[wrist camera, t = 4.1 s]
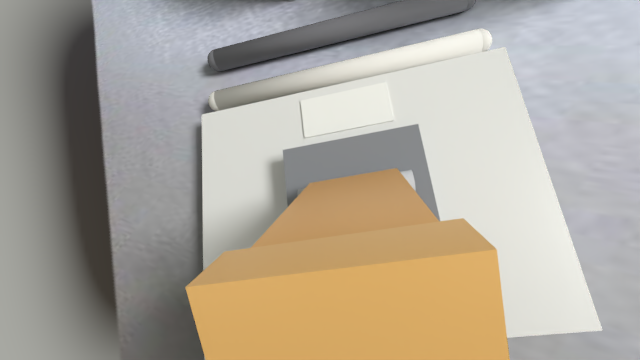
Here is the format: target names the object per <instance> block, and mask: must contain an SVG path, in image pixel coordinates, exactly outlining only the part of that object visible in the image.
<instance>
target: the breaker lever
mask: <svg viewBox="0 0 640 360" xmlns="http://www.w3.org/2000/svg"><path fill="white" fill-rule="evenodd" d="M185 288H186V291H187V295H188V298H189V302H190V306H191V309H192V313H193V316H194V320H195V323H196V327H197V331H198V334H199V338H200V341H201V345H202V348H203V352H204V356H205V359H206V360H510V359H509V351H508V342H507V333H506V324H505V316H504V307H503V298H502V290H501V281H500V272H499V263H498V255H497V249H496V248H495V247H494V246H493V245H492V244H491V243H489V242H488V241H487V240H486V239H485V238H484V237H483V236H482V235H481V234H480V233H479V232H478V231H477V230H475V229H474V228H473V227H472V226H471V225H470V224H469V223H468V222H467V221H466V220H465V219H464V218H461V219H453V220H446V221H439V220H438V219H437V218H436V217H435V215H434V214H433V213H432V212H431V210H430V209H429V208H428V207H427V205H426V204H425V203H424V201H423V200H422V199H421V198H420V196H419V195H418V194H417V193H416V188H415V180H414V176H413V172H412V170H408V171H402V172H400V171H399V170H398V169H397V168H394V169H389V170H383V171H377V172H371V173H365V174H359V175H354V176H348V177H342V178H336V179H330V180H324V181H319V182H313V183H309V185H308V186H307V187H306V188H302V189H298V197H297V198H296V199H295V200H294V201H293V202H292V203H291V204H290V205H289V206H288V208H287V209H286V210H285V211H284V212H283V213H282V214H281V215H280V216H279V217H278V218H277V220H276V221H275V222H274V223H273V224H272V225H271V226H270V227H269V228H268V229H267V230H266V232H265V233H264V234H263V235H262V236H261V237H260V238H259V239H258V240H257V241H256V243H255V244H254V245H253V246H252V247H251V248H246V249H239V250H232V251H224V252H223V253H222V254H221V255H220V256H219V257H218V258H217V259H216V260H215V261H214V262H212V263H211V264H210V265H209V266H208V267H207V268H206V269H205V270H204V271H203V272H202V273H200V274H199V275H198V276H197V277H196V278H195V279H194V280H193V281H192V282H191V283H189V284H188V285H187V286H186V287H185Z"/></svg>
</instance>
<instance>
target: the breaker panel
mask: <svg viewBox="0 0 640 360" xmlns="http://www.w3.org/2000/svg"><path fill="white" fill-rule="evenodd" d="M394 168H397V169H398V170H399V171H400V172H402V171H408V170H412V172H413V176H414V180H415V188H416V193H417V194H418V195H419V196H420V198H421V199H422V200H423V201H424V203H425V204H426V205H427V207H428V208H429V209H430V210H431V212H432V213H433V214H434V215H435V217H436V218H437V219H438V220H439V221H446V220H453V219H461V218H464V219H465V220H466V221H467V222H468V223H469V224H470V225H471V226H472V227H473V228H474V229H475V230H477V231H478V232H479V233H480V234H481V235H482V236H483V237H484V238H485V239H486V240H487V241H488V242H489V243H491V244H492V245H493V246H494V247H495V248H496V249H497V255H498V263H499V272H500V281H501V290H502V298H503V307H504V316H505V324H506V333H507V338H510V337H523V336H536V335H549V334H562V333H575V332H588V331H602V328H601V325H600V322H599V319H598V316H597V313H596V310H595V307H594V304H593V301H592V298H591V295H590V293H589V290H588V287H587V284H586V281H585V278H584V275H583V272H582V269H581V266H580V263H579V260H578V258H577V255H576V252H575V249H574V246H573V243H572V240H571V237H570V234H569V231H568V228H567V225H566V223H565V220H564V217H563V214H562V211H561V208H560V205H559V202H558V199H557V196H556V193H555V190H554V188H553V185H552V182H551V179H550V176H549V173H548V170H547V167H546V164H545V161H544V158H543V155H542V153H541V150H540V147H539V144H538V141H537V138H536V135H535V132H534V129H533V126H532V123H531V120H530V118H529V115H528V112H527V109H526V106H525V103H524V100H523V97H522V94H521V91H520V88H519V85H518V83H517V80H516V77H515V74H514V71H513V68H512V65H511V62H510V59H509V56H508V53H507V50H506V48H505V47H502V48H498V49H493V50H489V51H484V52H480V53H475V54H471V55H466V56H462V57H458V58H453V59H449V60H444V61H440V62H435V63H431V64H426V65H422V66H417V67H413V68H408V69H404V70H399V71H395V72H390V73H386V74H381V75H377V76H372V77H368V78H364V79H359V80H355V81H350V82H346V83H341V84H337V85H332V86H328V87H323V88H319V89H314V90H310V91H305V92H301V93H296V94H292V95H287V96H283V97H278V98H274V99H270V100H265V101H261V102H256V103H252V104H247V105H243V106H238V107H234V108H229V109H225V110H220V111H216V112H211V113H207V114H202V197H203V271H204V270H205V269H206V268H207V267H208V266H209V265H210V264H211V263H212V262H214V261H215V260H216V259H217V258H218V257H219V256H220V255H221V254H222V253H223V252H224V251H232V250H239V249H246V248H251V247H252V246H253V245H254V244H255V243H256V241H257V240H258V239H259V238H260V237H261V236H262V235H263V234H264V233H265V232H266V230H267V229H268V228H269V227H270V226H271V225H272V224H273V223H274V222H275V221H276V220H277V218H278V217H279V216H280V215H281V214H282V213H283V212H284V211H285V210H286V209H287V208H288V206H289V205H290V204H291V203H292V202H293V201H294V200H295V199H296V198H297V197H298V189H302V188H306V187H307V186H308V185H309V183H313V182H319V181H324V180H330V179H336V178H342V177H348V176H354V175H359V174H365V173H371V172H377V171H383V170H389V169H394ZM204 360H206V359H205V356H204Z"/></svg>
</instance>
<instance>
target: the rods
mask: <svg viewBox="0 0 640 360" xmlns="http://www.w3.org/2000/svg"><path fill="white" fill-rule="evenodd" d="M475 2H476V0H403V1H399V2H395V3H391V4H387V5H384V6H380V7H376V8H372V9H368V10H364V11H361V12H357V13H353V14H349V15H345V16H341V17H338V18H334V19H330V20H326V21H322V22H318V23H314V24H311V25H307V26H303V27H299V28H295V29H291V30H288V31H284V32H280V33H276V34H272V35H268V36H265V37H261V38H257V39H253V40H249V41H245V42H242V43H238V44H234V45H230V46H226V47H222V48H218V49H215V50H212V51H211V52H210V53H209V55H208V63H209V65H210V67H211V68H212V69H214V70H216V71H224V70H228V69H232V68H236V67H240V66H244V65H248V64H252V63H256V62H260V61H264V60H268V59H272V58H276V57H280V56H284V55H288V54H292V53H297V52H301V51H305V50H309V49H313V48H317V47H321V46H325V45H329V44H333V43H337V42H341V41H345V40H349V39H353V38H357V37H361V36H365V35H370V34H374V33H378V32H382V31H386V30H390V29H394V28H398V27H402V26H406V25H410V24H414V23H418V22H422V21H426V20H430V19H434V18H438V17H443V16H447V15H451V14H455V13H459V12H463V11H466V10H468V9H470V8H471V7H472V6H473V5H474V4H475ZM491 44H492V36H491V34H490V32H489V31H487V30H485V29H476V30H472V31H467V32H463V33H459V34H455V35H450V36H446V37H442V38H438V39H433V40H429V41H425V42H421V43H416V44H412V45H408V46H404V47H400V48H395V49H391V50H387V51H383V52H378V53H374V54H370V55H366V56H361V57H357V58H353V59H349V60H344V61H340V62H336V63H332V64H327V65H323V66H319V67H315V68H310V69H306V70H302V71H298V72H293V73H289V74H285V75H281V76H276V77H272V78H268V79H264V80H259V81H255V82H251V83H247V84H243V85H238V86H234V87H230V88H226V89H221V90H217V91H214V92H212V93H211V94H210V96H209V99H208V102H209V106H210V107H211V108H212V109H213V110H214V111H220V110H225V109H229V108H234V107H238V106H243V105H247V104H252V103H256V102H261V101H265V100H270V99H274V98H278V97H283V96H287V95H292V94H296V93H301V92H305V91H310V90H314V89H319V88H323V87H328V86H332V85H337V84H341V83H346V82H350V81H355V80H359V79H364V78H368V77H372V76H377V75H381V74H386V73H390V72H395V71H399V70H404V69H408V68H413V67H417V66H422V65H426V64H431V63H435V62H440V61H444V60H449V59H453V58H458V57H462V56H466V55H471V54H475V53H480V52H484V51H487V50H488V49H489V48H490V46H491Z"/></svg>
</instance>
